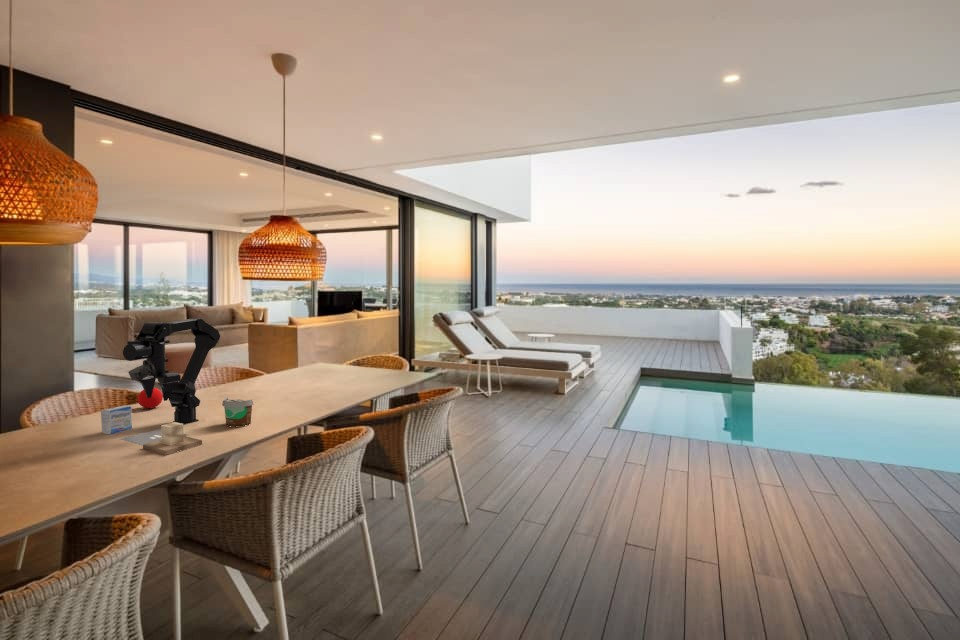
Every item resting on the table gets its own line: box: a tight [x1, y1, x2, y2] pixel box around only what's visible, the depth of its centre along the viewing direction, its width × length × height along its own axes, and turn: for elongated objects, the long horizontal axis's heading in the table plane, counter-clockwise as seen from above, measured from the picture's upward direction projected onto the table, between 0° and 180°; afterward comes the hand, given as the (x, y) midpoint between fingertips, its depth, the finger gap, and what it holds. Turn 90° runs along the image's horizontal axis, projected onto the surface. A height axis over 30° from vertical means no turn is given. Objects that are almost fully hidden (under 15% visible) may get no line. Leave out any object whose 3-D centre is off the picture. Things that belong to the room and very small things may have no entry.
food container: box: [221, 396, 255, 428], centre depth 185 cm, size 12×6×10 cm, turn 76°
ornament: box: [137, 387, 163, 409], centre depth 207 cm, size 9×9×10 cm
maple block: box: [160, 421, 185, 445], centre depth 160 cm, size 4×4×6 cm
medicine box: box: [100, 404, 133, 435], centre depth 175 cm, size 8×4×9 cm, turn 161°
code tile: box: [120, 428, 189, 446], centre depth 169 cm, size 14×16×1 cm
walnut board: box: [142, 436, 203, 456], centre depth 160 cm, size 12×12×2 cm
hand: (157, 399), depth 175 cm, fingers open, 9 cm apart
